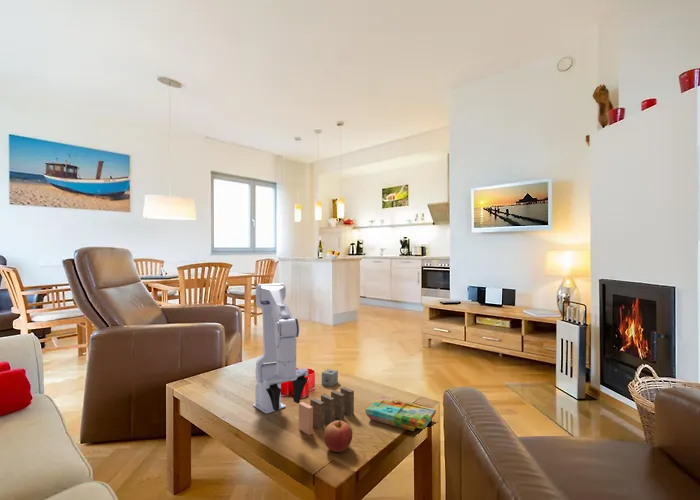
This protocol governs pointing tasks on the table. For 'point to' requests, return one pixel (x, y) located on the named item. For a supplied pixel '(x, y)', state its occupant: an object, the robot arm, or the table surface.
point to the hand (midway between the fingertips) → (286, 405)
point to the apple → (338, 436)
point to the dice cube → (329, 377)
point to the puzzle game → (400, 413)
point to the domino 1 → (306, 418)
